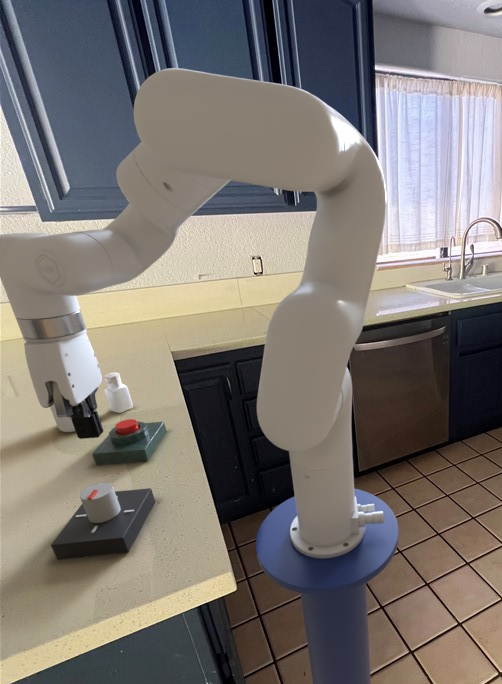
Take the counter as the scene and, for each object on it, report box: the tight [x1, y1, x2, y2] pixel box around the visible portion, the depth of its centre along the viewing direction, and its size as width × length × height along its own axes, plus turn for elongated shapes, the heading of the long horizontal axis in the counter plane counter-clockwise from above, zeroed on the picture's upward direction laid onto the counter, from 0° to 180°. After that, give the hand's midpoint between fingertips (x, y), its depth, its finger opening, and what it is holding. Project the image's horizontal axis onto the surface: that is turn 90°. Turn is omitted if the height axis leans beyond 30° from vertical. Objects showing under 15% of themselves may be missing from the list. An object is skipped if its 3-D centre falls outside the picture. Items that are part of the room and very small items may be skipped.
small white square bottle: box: [103, 372, 134, 414], centre depth 106 cm, size 4×4×10 cm
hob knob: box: [79, 482, 121, 523], centre depth 67 cm, size 4×4×5 cm
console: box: [91, 420, 167, 466], centre depth 91 cm, size 10×12×4 cm
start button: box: [114, 418, 139, 435], centre depth 90 cm, size 4×4×2 cm
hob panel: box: [50, 487, 156, 561], centre depth 69 cm, size 10×12×3 cm
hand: (91, 435), depth 69 cm, fingers closed
